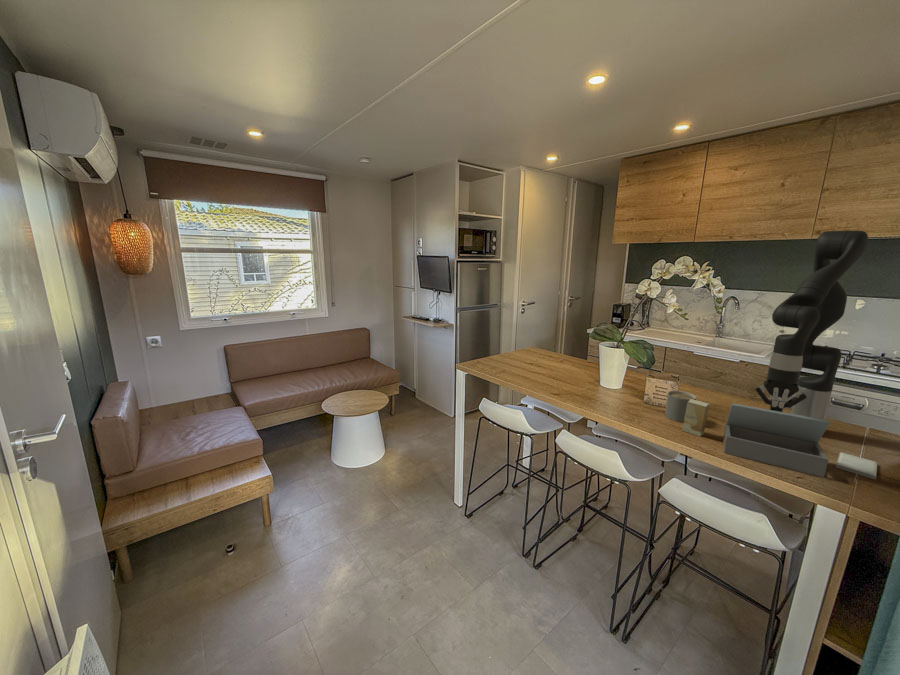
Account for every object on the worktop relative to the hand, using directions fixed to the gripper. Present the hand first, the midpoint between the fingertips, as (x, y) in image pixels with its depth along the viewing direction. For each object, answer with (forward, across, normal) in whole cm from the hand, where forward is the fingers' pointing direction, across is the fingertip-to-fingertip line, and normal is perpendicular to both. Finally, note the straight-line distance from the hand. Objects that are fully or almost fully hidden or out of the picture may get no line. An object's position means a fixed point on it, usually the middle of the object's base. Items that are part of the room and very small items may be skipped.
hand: (774, 417), depth 117 cm
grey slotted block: (+13, 0, +3) cm, 13 cm away
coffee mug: (+13, +26, -17) cm, 34 cm away
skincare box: (+13, +21, -3) cm, 25 cm away
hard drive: (+14, -22, -6) cm, 27 cm away
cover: (+2, 0, 0) cm, 2 cm away
